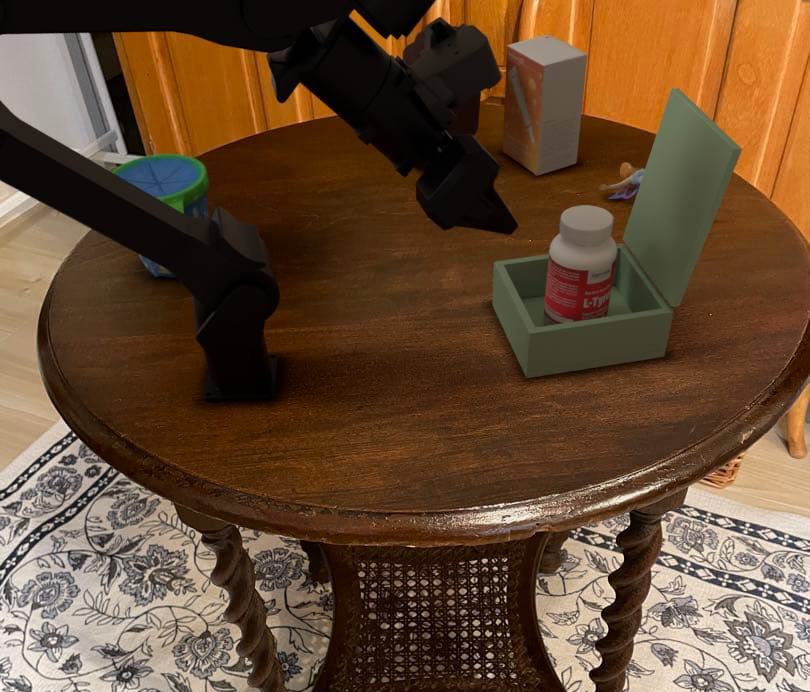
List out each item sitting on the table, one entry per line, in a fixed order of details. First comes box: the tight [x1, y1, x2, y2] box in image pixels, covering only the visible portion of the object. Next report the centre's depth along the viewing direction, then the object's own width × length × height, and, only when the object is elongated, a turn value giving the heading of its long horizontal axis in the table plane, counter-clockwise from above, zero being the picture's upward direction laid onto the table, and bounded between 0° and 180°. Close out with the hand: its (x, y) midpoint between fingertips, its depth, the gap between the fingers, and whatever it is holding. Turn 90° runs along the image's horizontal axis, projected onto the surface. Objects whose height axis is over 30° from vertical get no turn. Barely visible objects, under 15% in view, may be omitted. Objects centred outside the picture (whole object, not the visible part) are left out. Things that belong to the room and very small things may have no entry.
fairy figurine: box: [598, 161, 645, 200], centre depth 100 cm, size 12×5×12 cm
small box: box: [502, 34, 588, 176], centre depth 106 cm, size 8×6×13 cm
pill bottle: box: [543, 204, 617, 326], centre depth 81 cm, size 6×6×11 cm
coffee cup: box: [402, 25, 482, 139], centre depth 106 cm, size 10×10×15 cm
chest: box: [491, 242, 675, 379], centre depth 84 cm, size 14×13×5 cm
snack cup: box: [111, 153, 210, 279], centre depth 94 cm, size 16×10×10 cm
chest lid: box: [622, 87, 743, 308], centre depth 77 cm, size 14×13×1 cm
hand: (496, 206), depth 75 cm, fingers open, 9 cm apart
